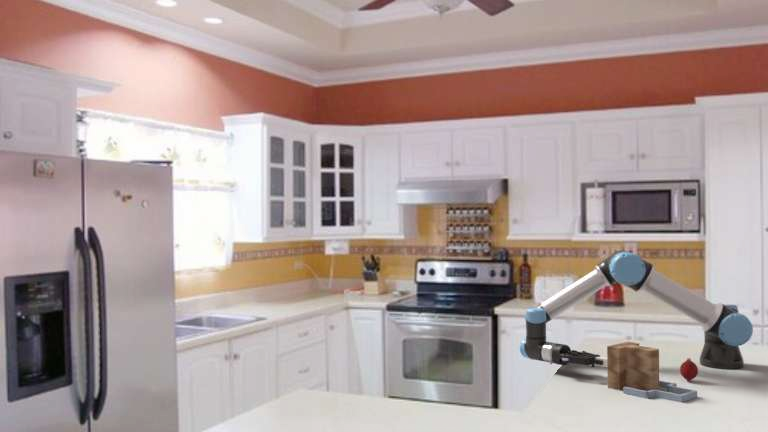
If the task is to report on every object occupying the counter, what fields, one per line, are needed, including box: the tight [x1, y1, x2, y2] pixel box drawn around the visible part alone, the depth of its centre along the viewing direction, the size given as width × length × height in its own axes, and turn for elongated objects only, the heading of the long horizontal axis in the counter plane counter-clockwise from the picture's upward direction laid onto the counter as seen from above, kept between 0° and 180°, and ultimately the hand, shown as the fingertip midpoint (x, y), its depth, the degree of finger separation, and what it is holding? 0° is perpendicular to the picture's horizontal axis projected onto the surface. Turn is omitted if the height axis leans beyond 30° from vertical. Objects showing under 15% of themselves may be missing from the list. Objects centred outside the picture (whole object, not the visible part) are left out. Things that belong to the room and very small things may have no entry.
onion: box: [679, 357, 699, 382], centre depth 246 cm, size 6×6×8 cm
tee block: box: [606, 341, 660, 391], centre depth 237 cm, size 14×12×14 cm
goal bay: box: [622, 379, 698, 403], centre depth 229 cm, size 18×17×2 cm
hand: (612, 363), depth 243 cm, fingers closed
